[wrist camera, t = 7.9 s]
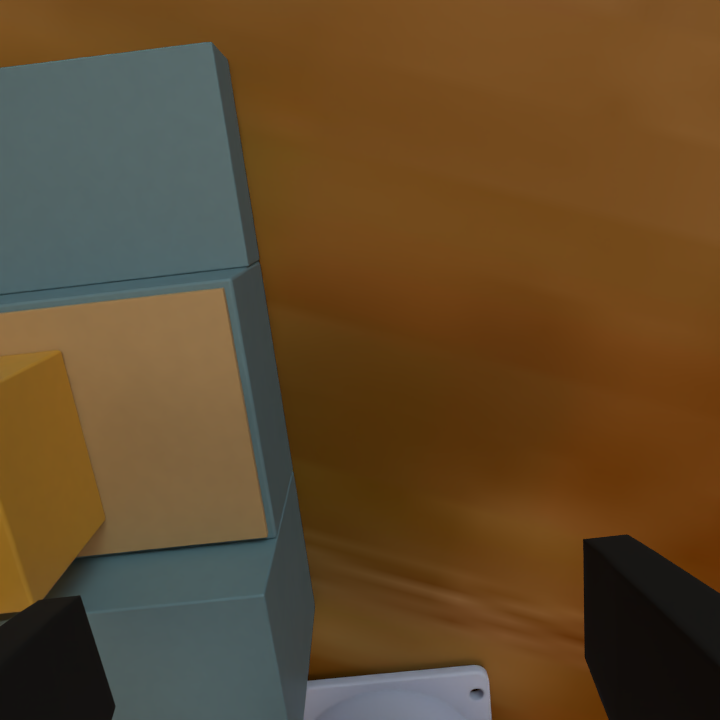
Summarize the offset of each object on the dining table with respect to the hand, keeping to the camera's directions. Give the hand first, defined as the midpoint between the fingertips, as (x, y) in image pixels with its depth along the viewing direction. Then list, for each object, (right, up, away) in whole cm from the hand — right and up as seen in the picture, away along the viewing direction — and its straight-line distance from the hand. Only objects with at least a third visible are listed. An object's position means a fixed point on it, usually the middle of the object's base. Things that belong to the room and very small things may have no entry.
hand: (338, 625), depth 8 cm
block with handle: (-8, +2, +6) cm, 10 cm away
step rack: (-8, +3, +10) cm, 13 cm away
